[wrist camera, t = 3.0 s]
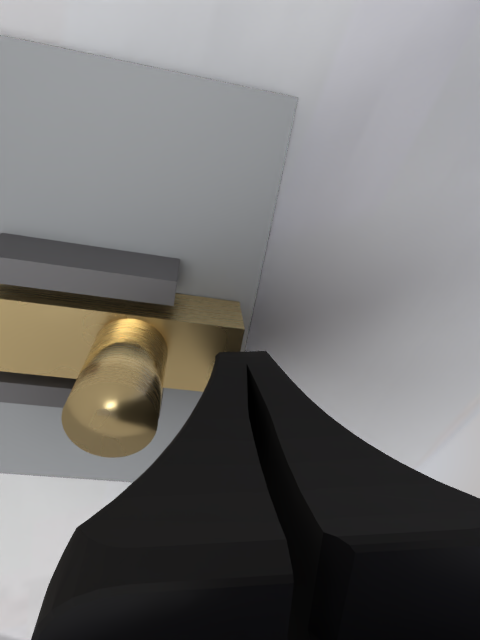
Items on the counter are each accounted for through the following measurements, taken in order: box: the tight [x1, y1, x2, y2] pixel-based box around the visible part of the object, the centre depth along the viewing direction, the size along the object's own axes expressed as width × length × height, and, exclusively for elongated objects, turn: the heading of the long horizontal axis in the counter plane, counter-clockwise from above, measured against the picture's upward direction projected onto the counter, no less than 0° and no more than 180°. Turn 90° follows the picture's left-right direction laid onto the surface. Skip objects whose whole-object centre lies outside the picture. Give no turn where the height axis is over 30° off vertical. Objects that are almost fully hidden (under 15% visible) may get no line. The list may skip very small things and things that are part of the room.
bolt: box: [0, 284, 245, 458], centre depth 11 cm, size 7×2×5 cm, turn 80°
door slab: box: [0, 35, 298, 482], centre depth 13 cm, size 11×14×3 cm
